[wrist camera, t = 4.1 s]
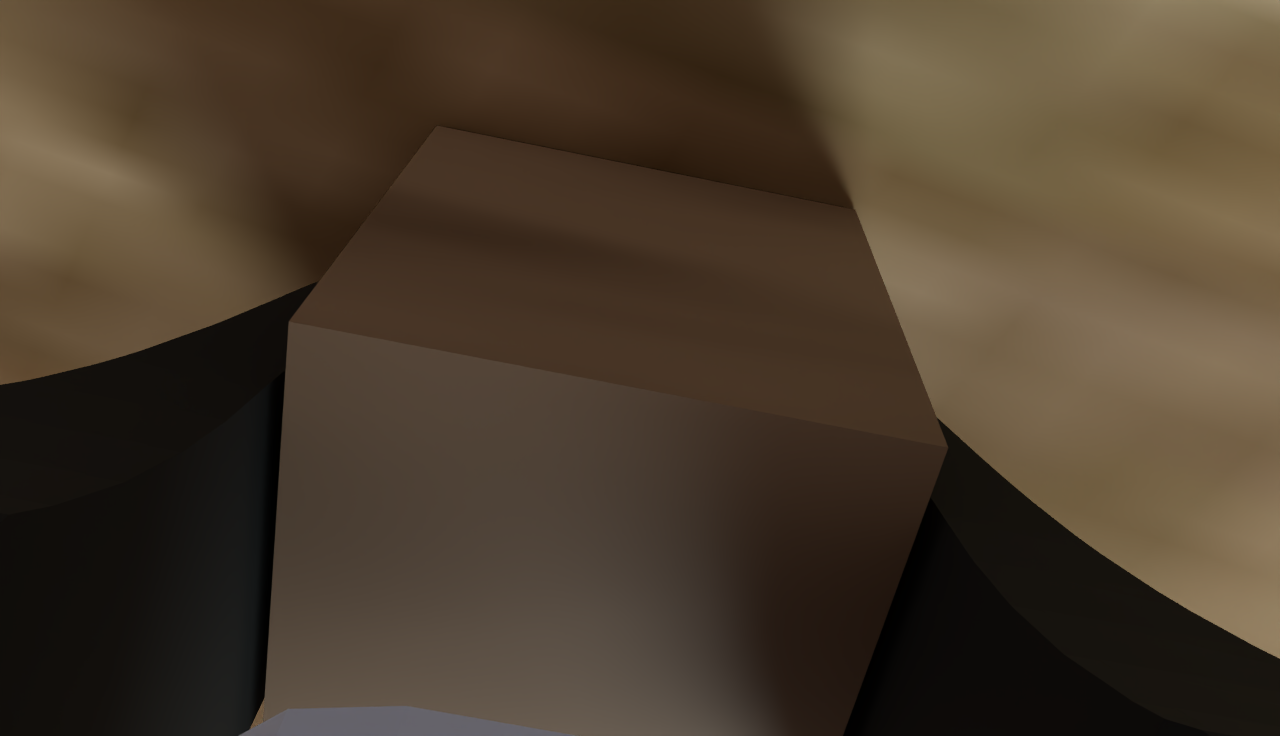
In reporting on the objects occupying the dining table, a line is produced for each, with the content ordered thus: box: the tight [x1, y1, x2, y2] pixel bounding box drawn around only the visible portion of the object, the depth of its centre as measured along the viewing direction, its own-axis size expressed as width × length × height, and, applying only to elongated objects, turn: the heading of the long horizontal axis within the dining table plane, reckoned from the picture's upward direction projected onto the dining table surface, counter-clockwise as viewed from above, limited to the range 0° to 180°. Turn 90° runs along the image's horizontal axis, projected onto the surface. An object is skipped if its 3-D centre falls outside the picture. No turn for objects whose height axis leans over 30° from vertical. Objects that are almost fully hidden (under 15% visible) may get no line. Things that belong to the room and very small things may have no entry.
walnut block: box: [263, 126, 948, 736], centre depth 11 cm, size 4×4×5 cm
